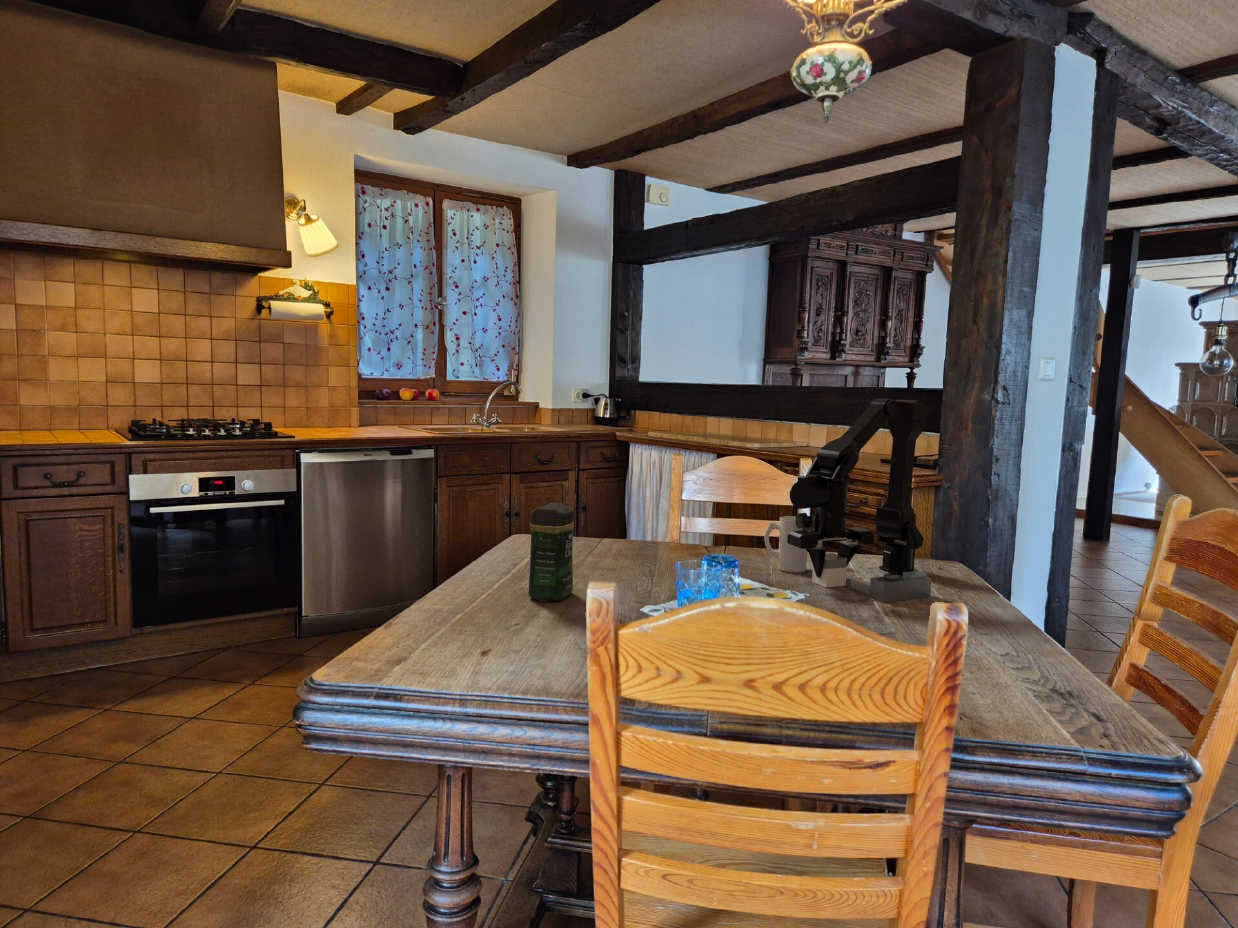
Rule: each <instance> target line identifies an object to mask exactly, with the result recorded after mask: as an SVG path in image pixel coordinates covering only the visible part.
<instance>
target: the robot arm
mask: <svg viewBox="0 0 1238 928" xmlns="http://www.w3.org/2000/svg"><path fill="white" fill-rule="evenodd" d="M928 413H929V411H928V407H927V406H926V405H925V403H924V402H923V401H922V400H909V399H908V400H907V399H895V400H894V399H891V398H876V399H875V398H874V399H872V400H871V401H870V403H869V406H868V407H867V409H865V411H864V412H863V413H862V414H861V415H860V416H859V417H858V418H857V419H856V420H855V421H854V423H853V424H852V425H851V426H849V428H848V429H847V430H846V431H845V432H844V433H843V434H842V435H841V436H840V437H837V438H835V439H833V440H831V441H828V442H827V443H826V444H824V445H823V446H822V447H820V448H819V449H818V451H817V452H816V455H815V457H814V460H813V461H812V463H811V464H810V466H809V468H808V471H807V472H806V473H805V475H798V476H797V481H796V482H794V483H793V484H792V486H791V488H790V491H789V498H790V499H789V500H790V503H791V504H792V506H793V507H795V508H796V509H799V510H805V509H812V508H813V509H814V510H813V512H814V513H813V515H808V514H807V512H798V513H796V515H795V516H796V521H795V522H796V527H797V528H803V530H799V531H790V533H789V534H788V536H787V543H788V544H790V545H793V546H796V547H798V548H802V549H806V550H807V554H808V555H809V558H810V560H811V564H812V568H813V567H814V570H815V574H816V576H817V577H818V578H821V575H822V572H823V566H824V560H825V554H827V548H825V547H823V543H834V544H835V546H836V547H835V548H836V549H837V553H836V555H839V556H842V557H845V558H847V566H846V568H847V567H848V566H849V564H850V563H851V561H852V559H853V558H854V556H855V554H856V553H857V552H858V550H861V549H862V545H865V546H866V545H874V544H875V534H874V533H873V531H872V530H869V529H868V528H863V527H859V526H854V527H846V526H847V525H846V524H847V523H846V521H847V520H846V519H847V518H849V517H851V511H848V510H847V504H848V502H847V501H848V487H849V485H855V484H856V482H855V480H854V478H852V477H851V476H850V473H852V472H853V470H854V468H855V467H856V465H857V463H859V460H860V452H861V450H862V449H863V448H864V447H865V446H866V445H867V444H868V443H869V442H870V440H871V439H872V438H873V437H874V436H875V435H876V434H877V432H879V430H880V429H881V428H882V427H883V426H884V425H885V424H886V426H887V429H888V431H889V433H890V435H891V437H892V444H891V456H890V465H889V475H888V485H887V496H886V497H887V498H886V500H885V502H884V503H883V505H881V507H880V506H877V507H876V510H875V515H876V516H875V520H874V525H875V530H876V534H877V538H878V542H879V543H882V544H883V543H884V549H883V550H882V551H883V552H882V563H881V564H882V565H878V568H879V569H881V570H884V571H886V572H888V573H892V574H897V575H903V572H911V571H920V570H919V569H917V568H915V558H916V550H919V549H920V548H922V547H923V545H924V541H925V538H924V536H923V535H922V533H921V531H920V530H919V528H918V527H917V522H916V521H917V520H916V519H917V517H916V513H915V511H914V509H913V507H912V505H911V494H912V486H913V485H912V484H913V483H912V482H913V472H914V465H915V453H916V444H917V439H918V438H919V437H920V436H921V434H922V433H923V432H924V430H925V428H926V423H927V419H928V415H929V414H928ZM858 542H860V544H862V545H859V543H858Z"/></svg>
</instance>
